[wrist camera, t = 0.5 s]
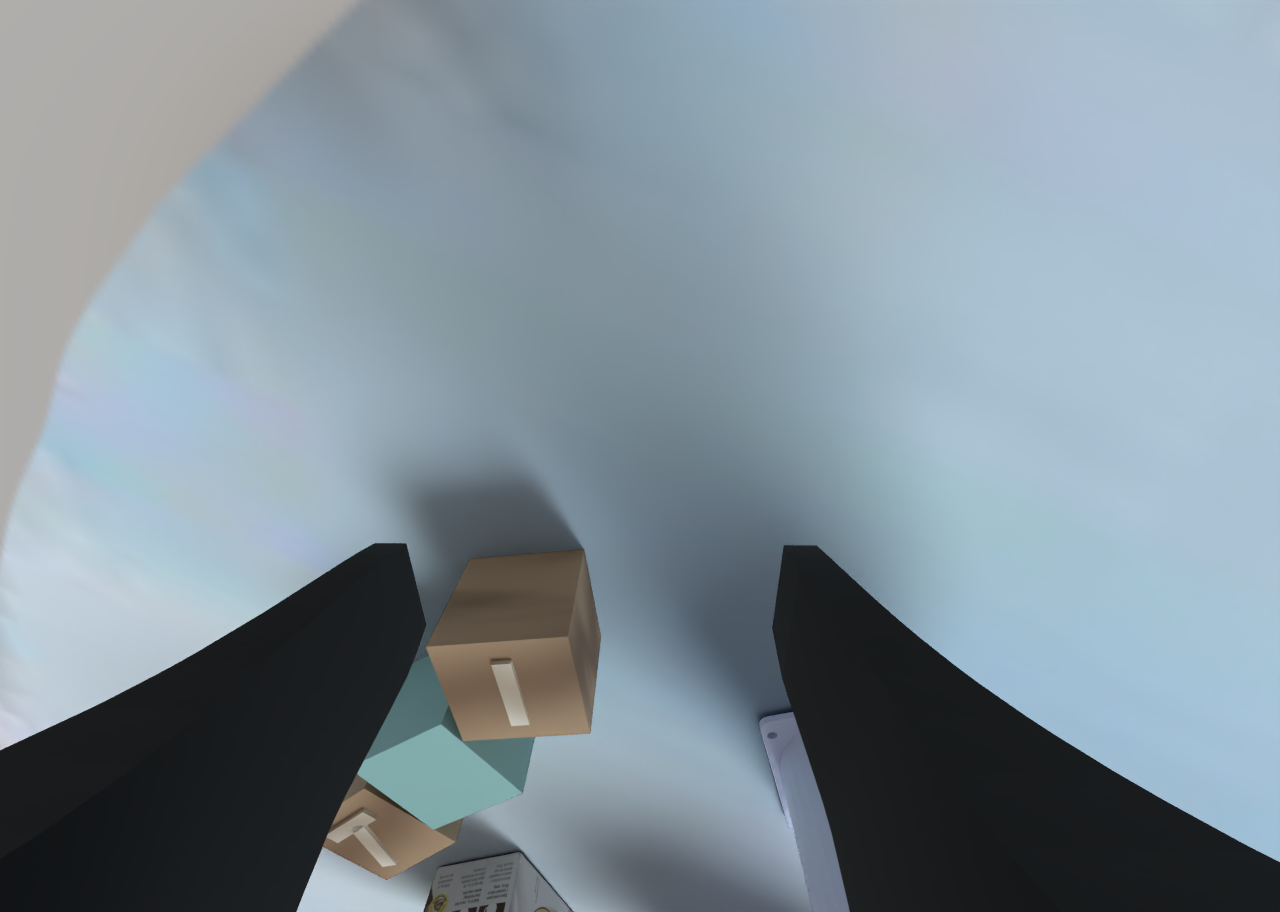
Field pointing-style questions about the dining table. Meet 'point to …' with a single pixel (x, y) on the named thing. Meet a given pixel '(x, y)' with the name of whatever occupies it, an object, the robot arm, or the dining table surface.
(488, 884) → the coffee box
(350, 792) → the digit block seven
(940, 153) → the dining table surface
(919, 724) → the robot arm
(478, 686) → the digit block one
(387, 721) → the plain block
